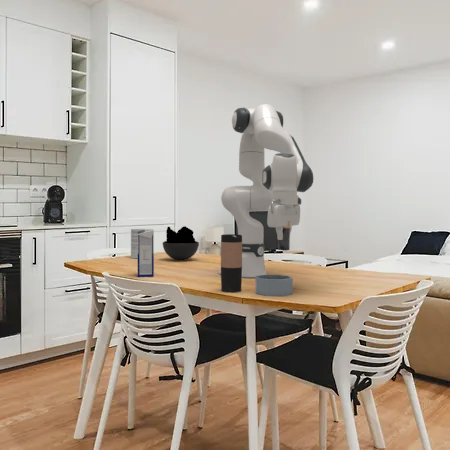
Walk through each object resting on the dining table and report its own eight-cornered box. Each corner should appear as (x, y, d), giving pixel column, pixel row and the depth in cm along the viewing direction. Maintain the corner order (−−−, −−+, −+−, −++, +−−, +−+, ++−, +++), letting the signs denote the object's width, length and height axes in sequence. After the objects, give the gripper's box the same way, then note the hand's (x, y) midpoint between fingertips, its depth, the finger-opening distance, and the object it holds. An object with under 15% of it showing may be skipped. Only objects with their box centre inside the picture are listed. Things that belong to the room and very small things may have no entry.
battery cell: (276, 249, 174) (276, 218, 174) (287, 249, 175) (287, 218, 175) (280, 250, 170) (280, 219, 170) (291, 250, 171) (291, 219, 171)
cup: (248, 292, 173) (248, 276, 173) (271, 288, 182) (271, 273, 182) (276, 297, 164) (276, 280, 164) (299, 292, 173) (299, 277, 173)
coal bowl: (203, 259, 280) (203, 225, 279) (192, 263, 260) (193, 227, 260) (169, 258, 284) (169, 225, 284) (157, 261, 265) (157, 226, 264)
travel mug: (224, 288, 182) (224, 234, 181) (244, 289, 179) (244, 234, 179) (217, 291, 174) (218, 235, 173) (238, 293, 172) (239, 235, 171)
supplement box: (142, 259, 277) (142, 229, 276) (130, 258, 282) (130, 228, 281) (153, 257, 285) (153, 228, 284) (141, 256, 290) (141, 228, 289)
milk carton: (153, 276, 210) (153, 229, 209) (137, 277, 208) (137, 229, 208) (153, 274, 217) (153, 229, 216) (137, 274, 215) (137, 229, 215)
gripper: (280, 199, 161) (279, 241, 162) (303, 199, 179) (302, 237, 180) (262, 199, 165) (262, 240, 165) (287, 199, 182) (286, 237, 183)
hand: (283, 239), depth 173 cm, fingers closed on battery cell, 4 cm apart
